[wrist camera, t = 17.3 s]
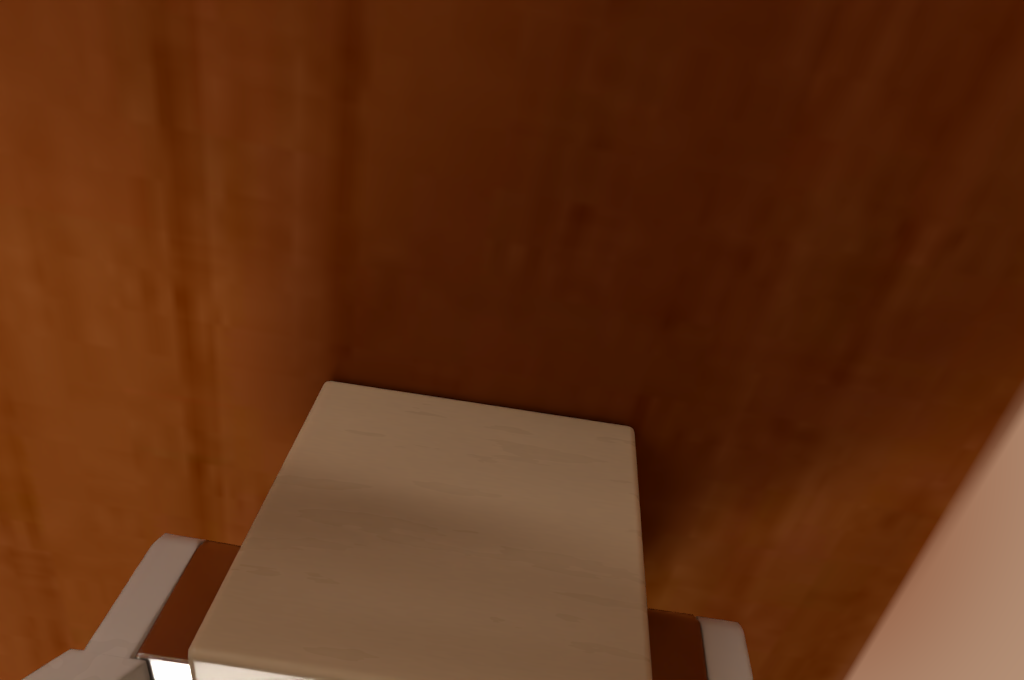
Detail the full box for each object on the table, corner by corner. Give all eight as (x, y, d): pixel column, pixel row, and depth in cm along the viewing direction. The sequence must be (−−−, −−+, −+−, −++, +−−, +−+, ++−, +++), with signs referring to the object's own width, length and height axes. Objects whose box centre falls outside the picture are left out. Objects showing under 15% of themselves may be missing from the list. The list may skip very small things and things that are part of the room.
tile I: (582, 623, 12) (577, 939, 8) (328, 584, 12) (219, 881, 8) (635, 423, 10) (659, 739, 6) (325, 376, 10) (175, 664, 6)
